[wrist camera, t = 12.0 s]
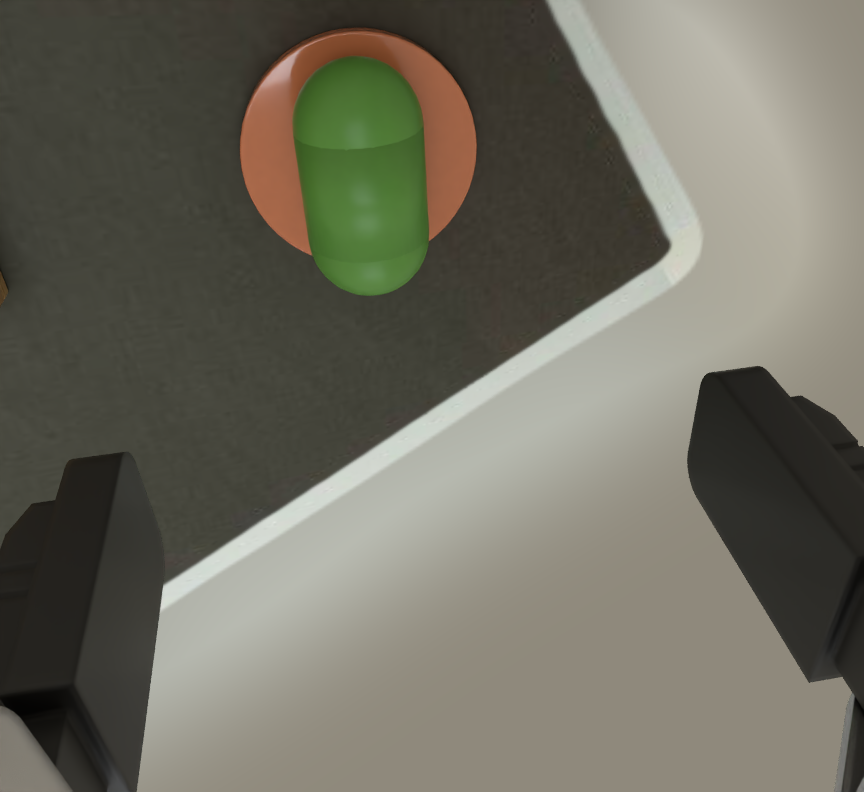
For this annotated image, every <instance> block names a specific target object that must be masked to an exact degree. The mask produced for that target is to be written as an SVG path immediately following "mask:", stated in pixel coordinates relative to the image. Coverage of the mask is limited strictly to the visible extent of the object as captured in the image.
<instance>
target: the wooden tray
mask: <svg viewBox="0 0 864 792" xmlns="http://www.w3.org/2000/svg"><path fill="white" fill-rule="evenodd" d="M7 294H8V289H7V286H6V284H5V281H4V279H3V276H2V274H1V271H0V307H1V305H2V303H3V301H4V299H5V297H6V295H7Z"/></svg>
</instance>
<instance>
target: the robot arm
mask: <svg viewBox="0 0 864 792" xmlns="http://www.w3.org/2000/svg"><path fill="white" fill-rule="evenodd" d="M687 464H688V473H689V478H690V482H691V485H692V488H693V491H694V493H695V495H696V497H697V499H698V500H699V502H700V504H701V505H702V507H703V509H704V510H705V512H706V513H707V515H708V517H709V519H710V520H711V522H712V524H713V525H714V527H715V528H716V530H717V532H718V533H719V535H720V537H721V538H722V540H723V542H724V543H725V545H726V547H727V548H728V550H729V552H730V553H731V555H732V557H733V558H734V560H735V561H736V563H737V565H738V566H739V568H740V570H741V571H742V573H743V575H744V576H745V578H746V580H747V581H748V583H749V585H750V586H751V588H752V590H753V591H754V593H755V594H756V596H757V598H758V599H759V601H760V603H761V604H762V606H763V607H764V609H765V611H766V613H767V614H768V616H769V618H770V619H771V621H772V622H773V624H774V626H775V627H776V629H777V631H778V632H779V634H780V636H781V637H782V639H783V641H784V642H785V644H786V645H787V647H788V649H789V650H790V652H791V654H792V655H793V657H794V659H795V660H796V662H797V664H798V665H799V667H800V669H801V670H802V672H803V674H804V675H805V677H806V678H807V680H808V682H809V683H810V682H815V681H821V680H826V679H832V678H838V677H843V679H844V680H845V681H846V683H847V685H848V686H849V688H850V689H851V691H852V694H851V697H850V699H849V701H848V704H847V708H846V715H845V721H844V728H843V735H842V742H841V749H840V756H839V763H838V769H837V775H836V782H835V789H834V792H864V447H863V446H858V441H857V440H856V438H855V437H854V436H853V435H852V434H851V433H850V432H849V431H848V430H847V429H846V427H845V426H844V425H843V424H842V423H841V422H840V421H839V420H838V419H837V417H836V416H835V415H833V414H831V413H830V412H828V411H826V410H825V409H823V408H821V407H820V406H818V405H816V404H815V403H813V402H811V401H809V400H808V399H806V398H804V397H803V396H795V397H790V396H789V395H788V394H787V393H786V392H785V391H784V389H783V388H782V387H781V386H780V385H779V384H778V382H777V381H776V380H775V379H774V378H773V377H772V376H771V374H770V373H769V372H768V371H767V370H766V369H764V368H763V367H760V366H755V367H747V368H740V369H733V370H726V371H718V372H711V373H708V374H706V375H705V376H704V378H703V379H702V382H701V385H700V390H699V395H698V400H697V406H696V411H695V417H694V422H693V428H692V433H691V439H690V445H689V450H688V458H687ZM164 571H165V562H164V550H163V543H162V538H161V534H160V530H159V527H158V524H157V522H156V519H155V516H154V513H153V510H152V507H151V505H150V502H149V499H148V496H147V493H146V490H145V488H144V485H143V482H142V479H141V476H140V473H139V471H138V468H137V465H136V462H135V460H134V458H133V456H132V455H131V454H130V453H129V452H121V453H113V454H106V455H99V456H92V457H84V458H77V459H71V460H69V461H68V463H67V464H66V467H65V469H64V473H63V476H62V480H61V483H60V486H59V490H58V493H57V497H56V500H54V501H47V502H40V503H33V504H31V505H30V507H29V508H28V509H27V510H26V511H25V513H24V514H23V515H22V516H21V517H20V518H19V520H18V521H17V522H16V523H15V524H14V525H13V527H12V528H11V529H10V530H9V531H8V533H7V534H6V535H5V538H4V540H3V543H2V546H1V549H0V792H136V791H137V783H138V776H139V769H140V761H141V753H142V745H143V737H144V730H145V722H146V714H147V706H148V699H149V691H150V683H151V675H152V667H153V660H154V652H155V643H156V635H157V628H158V621H159V613H160V605H161V597H162V590H163V582H164Z"/></svg>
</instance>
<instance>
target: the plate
mask: <svg viewBox="0 0 864 792" xmlns="http://www.w3.org/2000/svg"><path fill="white" fill-rule="evenodd" d="M347 56H363V57H371V58H374V59H377V60H379V61H382V62H384V63H387V64H388V65H390V66H391V67H392V68H394V69H395V70H397V71H398V72H399V73H401V75H402V76H403V77H404V78H405V79H406V80H407V81H408V82H409V84H410V85H411V87H412V89H413V90H414V92H415V94H416V95H417V98H418V100H419V103H420V106H421V109H422V115H423V122H424V141H425V160H426V180H427V199H428V218H429V241H430V240H431V239H432V238H434V237H435V236H436V235H437V234H438V233H439V232H440V231H441V230H442V229H443V228H444V227H445V226H446V225H447V224H448V223H449V222H450V220H451V219H452V218H453V217H454V215H455V214H456V212H457V211H458V209H459V208H460V206H461V204H462V203H463V201H464V199H465V196H466V194H467V192H468V190H469V187H470V184H471V181H472V178H473V174H474V169H475V163H476V152H477V141H476V130H475V125H474V120H473V116H472V113H471V110H470V107H469V105H468V102H467V100H466V98H465V96H464V94H463V92H462V90H461V88H460V86H459V85H458V83H457V82H456V81H455V79H454V78H453V76H452V75H451V74H450V72H449V71H448V70H447V69H446V67H445V66H444V65H443V64H442V63H441V62H440V61H439V60H438V59H437V58H436V57H435V56H433V55H432V54H431V53H430V52H428V51H427V50H426V49H424V48H423V47H421V46H420V45H418V44H416V43H415V42H413V41H411V40H409V39H407V38H404V37H402V36H400V35H397V34H394V33H390V32H387V31H383V30H378V29H370V28H344V29H338V30H332V31H328V32H325V33H321V34H318V35H315V36H313V37H311V38H309V39H306V40H304V41H302V42H300V43H298V44H297V45H295V46H294V47H292V48H291V49H289V50H288V51H286V52H285V53H284V54H283V55H282V56H280V57H279V58H278V59H277V60H276V61H275V62H274V63H273V64H272V65H271V66H270V67H269V68H268V70H267V71H266V72H265V73H264V74H263V76H262V77H261V79H260V80H259V82H258V83H257V85H256V86H255V88H254V90H253V92H252V94H251V96H250V99H249V101H248V103H247V106H246V110H245V113H244V116H243V120H242V127H241V133H240V160H241V169H242V173H243V177H244V181H245V185H246V187H247V190H248V192H249V195H250V197H251V199H252V201H253V203H254V205H255V206H256V208H257V210H258V212H259V213H260V214H261V216H262V217H263V218H264V220H265V221H266V222H267V224H268V225H269V226H270V227H271V228H272V229H273V230H274V231H275V232H276V233H277V234H278V235H279V236H281V237H282V238H283V239H284V240H286V241H287V242H288V243H290V244H291V245H293V246H294V247H296V248H298V249H299V250H301V251H303V252H305V253H307V254H310V255H312V253H311V249H310V245H309V240H308V234H307V227H306V220H305V213H304V206H303V199H302V193H301V186H300V179H299V172H298V165H297V158H296V152H295V145H294V138H293V126H292V116H293V110H294V105H295V102H296V99H297V97H298V94H299V92H300V90H301V88H302V86H303V85H304V83H305V82H306V80H307V79H308V78H309V77H310V76H311V75H312V74H313V73H314V72H315V71H316V70H317V69H318V68H320V67H322V66H323V65H325V64H326V63H328V62H330V61H332V60H335V59H339V58H342V57H347Z"/></svg>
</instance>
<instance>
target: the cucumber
mask: <svg viewBox="0 0 864 792" xmlns="http://www.w3.org/2000/svg"><path fill="white" fill-rule="evenodd" d="M292 126H293V138H294V145H295V152H296V158H297V165H298V172H299V179H300V186H301V193H302V199H303V206H304V213H305V220H306V227H307V234H308V240H309V245H310V249H311V253H312V256H313V258H314V260H315V262H316V264H317V266H318V267H319V269H320V270H321V272H322V273H323V274H324V275H325V276H326V278H327V279H329V280H330V281H331V282H333V283H334V284H335V285H336V286H338V287H339V288H341V289H343V290H346V291H348V292H351V293H354V294H358V295H367V296H370V295H381V294H385V293H389V292H391V291H394V290H396V289H398V288H399V287H401V286H402V285H404V284H405V283H407V282H408V281H409V280H410V279H411V278H412V277H413V276H414V275H415V273H416V272H417V271H418V270H419V268H420V266H421V265H422V263H423V261H424V259H425V256H426V253H427V249H428V244H429V218H428V199H427V180H426V160H425V141H424V122H423V115H422V109H421V106H420V103H419V100H418V98H417V95H416V94H415V92H414V90H413V89H412V87H411V85H410V84H409V82H408V81H407V80H406V79H405V78H404V77H403V76H402V75H401V73H399V72H398V71H397V70H395V69H394V68H392V67H391V66H390V65H388V64H387V63H384V62H382V61H379V60H377V59H374V58H371V57H363V56H347V57H342V58H339V59H335V60H332V61H330V62H328V63H326V64H325V65H323V66H322V67H320V68H318V69H317V70H316V71H315V72H314V73H313V74H312V75H311V76H310V77H309V78H308V79H307V80H306V82H305V83H304V85H303V86H302V88H301V90H300V92H299V94H298V97H297V99H296V102H295V105H294V110H293V116H292Z"/></svg>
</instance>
